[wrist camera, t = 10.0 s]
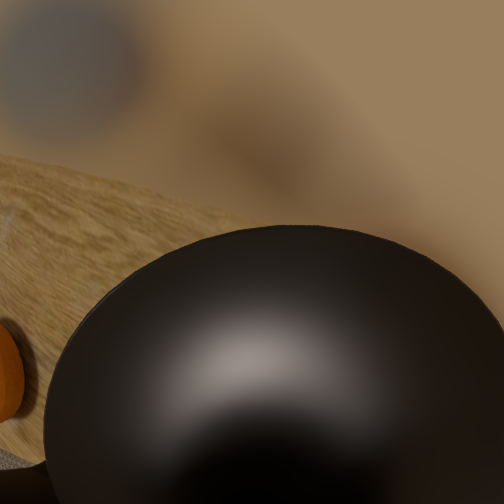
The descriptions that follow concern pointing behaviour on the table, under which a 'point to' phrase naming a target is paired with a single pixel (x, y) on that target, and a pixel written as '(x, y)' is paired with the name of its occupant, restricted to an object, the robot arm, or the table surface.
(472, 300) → the canister
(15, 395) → the fruit
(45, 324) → the table surface
